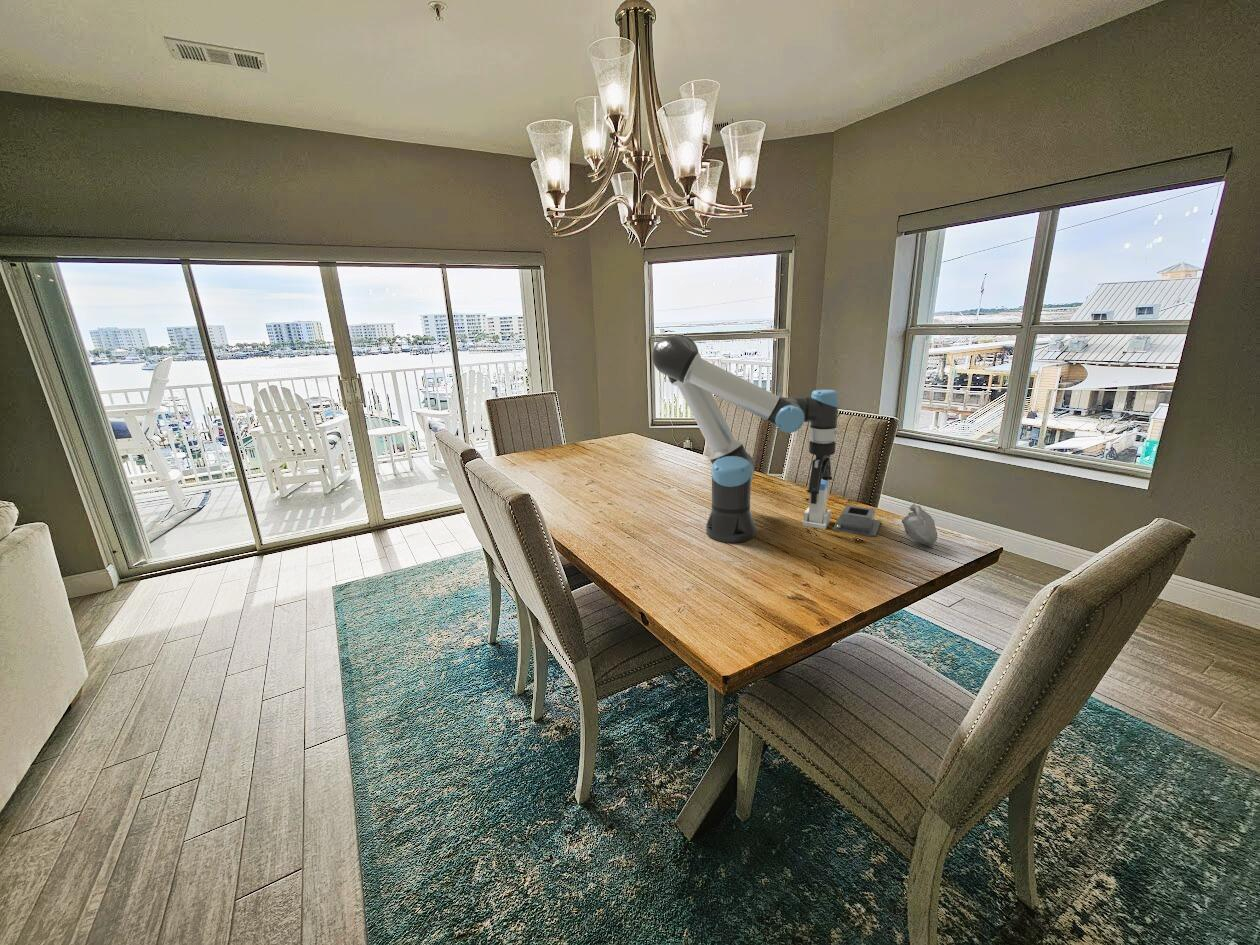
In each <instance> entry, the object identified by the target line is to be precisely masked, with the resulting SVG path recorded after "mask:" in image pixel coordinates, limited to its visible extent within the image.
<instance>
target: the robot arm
mask: <svg viewBox="0 0 1260 945" xmlns="http://www.w3.org/2000/svg"><path fill="white" fill-rule="evenodd" d="M651 354H652V362H653V365H654V367H655V369H656V370H658V372H660V373H661V374H663V375H665V376H667V377H668V380H669V381H670V383H671V385H673V386H676V387H678V389H679V391H680V393H681V395H682V396H683V399H684V400H685V402H686V404H687V407H688V409H689V410H690V412H691V414H692V416H693V419H694V420H695V422H696V424H697V426H698V428H699V430H700V433H701V435H702V436H703V438H704V440H705V442H706V445H707V446H708V448H709V450H710V455H709V461H710V463H711V464H712V466H711V472H710V474H711V510H710V513H709V516H708V519H707V521H706V525H705V534H706V535H707V536H708V537H709V538H710V539H712V540H714V541H715V540H716V541H718V542H723V543H730V544H731V543H734V544H735V543H745V542H747V541H750V540H752V539H753V538H754V537H755V536H756V525H755V522H754V519H753V516H752V512H751V494H752V493H751V487H752V482H753V478H754V474H755V470H756V469H755V462H754V459H753V458H752V456H751V454H749V453H748V451H747V450H746V449H745V447H744V445H743V442H742V441H738V440H736V439H735V437H734V435H733V433H732V431H731V428H730V427H729V424H728V423H727V421H726V419H725V417H724V415H723V413H722V411H721V409H720V406H719V405H718V403H717V401H716V399H715V397H714V395H715V396H717V397H719V398H721V399H722V400H725V401H727V402H729V403H730V404H733V405H734V406H737V407H739V408H741V409H743V410H745V411H747V412H748V413H751V414H753V415H755V416H757V417H759V418H761V419H763V420H765V421H766V422H769V423H771V424H773V425H775V426H776V428H778V429H779V430H780V431H781V432H784V433H785V434H786V433H787V434H791V433H795V432H797V431H799V430H800V429H801V428H802V426H803V425H804V423H810V426H809V440H810V441H809V442H808V444H809V445H808V450H809V451H808V453H809V454H811V455H814V456H815V459H813V460H812V461H811V462H812V463H811V470H810V471H811V473H810V479H809V483H808V489H806V490H807V491H806V493H808V494H809V504H808V505H809V506H808V507H809V512H810V513H817V514H818V513H819V499H820V493H819V489H820V484H821V480H824V481H828V484H827V497H826V501H828V500H829V494H830V492H829V491H830V481H832V480H833V476H832V468H831V466H832V465H831V456H833V455H834V454H835V453H836V439H837V435H838V434H839V431H838V430H837V425H838V424H837V423H838V413H839V412H838V411H839V392H837V390H835V389H815V390H813V391H812V392H811V395H810V396H807V397H783V396H778V395H776V394H775V393H772V392H771V391H769V390H766V389H764V388H763V387H760V386H759V385H757V384H754V383H753V382H750V381H749V380H747V379H744V378H742V377H740V376H737V375H736V374H734V373H732V372H730V371H728V370H725V369H723V368H722V367H719V366H718V365H715V364H713V363H711V362H709V361H707V360H705V359H703V358H702V357H701V353H699V349H698V346H697V344H696V343H695V341H694V340H692V339H691V337H689V336H686V335H683V334H676V335H675V334H674V335H670V336H665V337H663V338H661V339H660V340H658V342H656V343H655V346H654V347H653V350H652V353H651Z"/></svg>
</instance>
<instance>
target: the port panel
mask: <svg viewBox="0 0 1260 945" xmlns="http://www.w3.org/2000/svg"><path fill="white" fill-rule="evenodd" d="M875 514H876V508H871V507H863V506H855V505H849V504H846V505H845V507H844V509H843V510H842V512H841V514H839V516H838V518H837V520H836V521H835V523H834V526H832V531H837V532H843V533H847V534H854V535H859V536H865V537H871V538H876V536H877V534H878V532H879V528H880V525H881V523H882V520H879V519H875Z"/></svg>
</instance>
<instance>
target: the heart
mask: <svg viewBox="0 0 1260 945" xmlns="http://www.w3.org/2000/svg"><path fill="white" fill-rule="evenodd" d="M909 510H910V511H911V512H908V515H906V516H904V517H903V519H902V520H901V524H902V525H903V527H904V532H905V534H906V535H907V536H908V537H909V538H910V539H912V540H914V541H917V542H919V543H922V544H923V545H925V546H927V547H930V548H932V547H933V546H934V544H935V543H936V542H937V539H938V531H937V527H936V524H935V519H933V517H932V516H931V515H930V514H929V513H927V511H925V510H924V509H922V506H920V505H918V504H917V505H916V504H912V505H911V506H910V507H909Z"/></svg>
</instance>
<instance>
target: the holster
mask: <svg viewBox="0 0 1260 945" xmlns="http://www.w3.org/2000/svg"><path fill="white" fill-rule="evenodd" d="M809 513H810V512H809V506H808V507H807V508H806V509H805V511H804V512H803V521H802V524H801V526H802V527H803V526H804V527H810V528H815V529H821V530H826V529H827V527H828V526H829V524H830V523H831V516H832V510H831V509H827V510H826V511H825V515H824V518H823V524H819V523H813V522H809Z"/></svg>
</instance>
